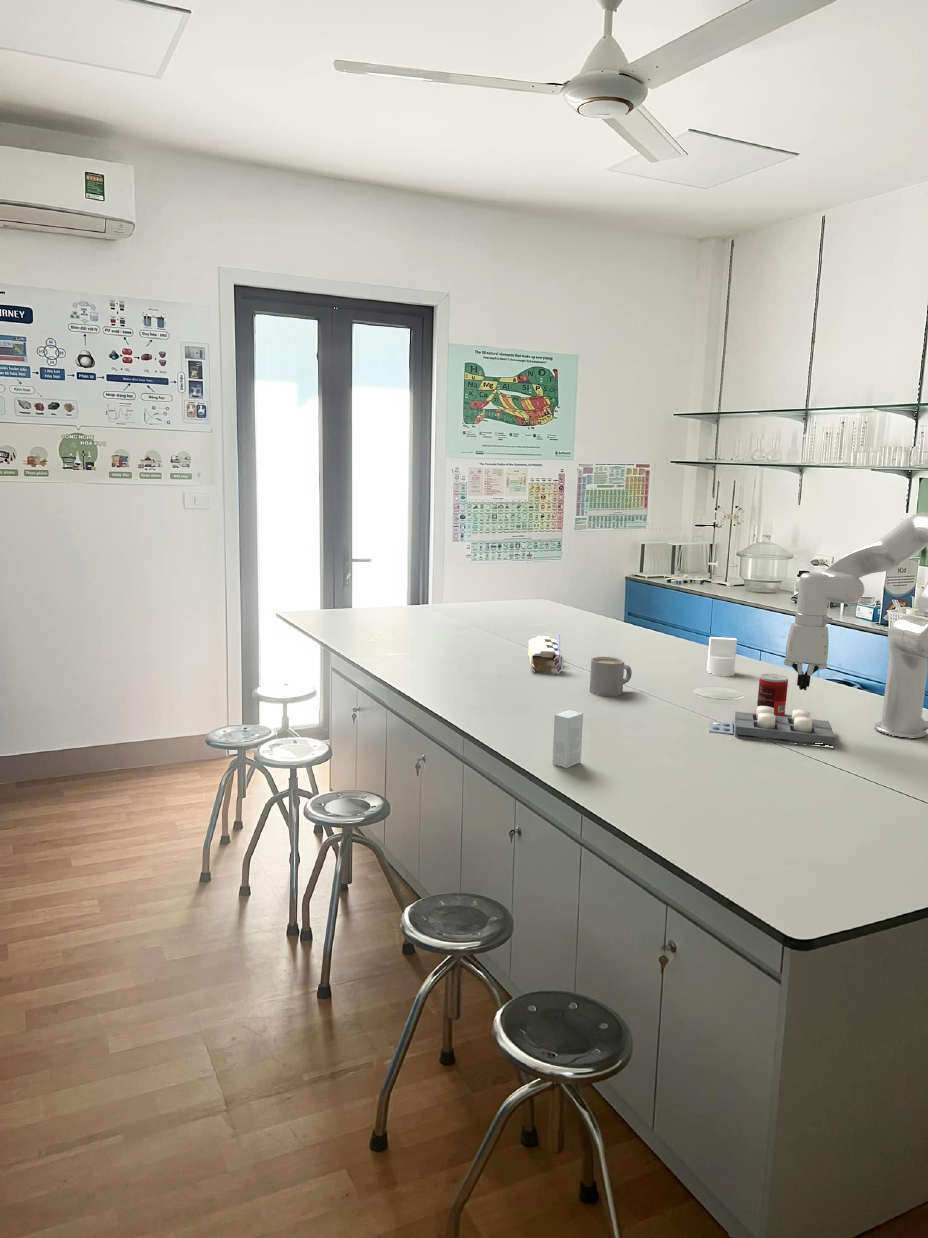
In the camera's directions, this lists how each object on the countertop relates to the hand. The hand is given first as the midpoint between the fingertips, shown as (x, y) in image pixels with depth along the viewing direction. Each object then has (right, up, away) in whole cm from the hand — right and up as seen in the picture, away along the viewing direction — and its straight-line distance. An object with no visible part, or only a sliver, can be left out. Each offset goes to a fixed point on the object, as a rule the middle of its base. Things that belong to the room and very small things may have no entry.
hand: (802, 688), depth 238 cm
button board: (-9, -12, +1) cm, 15 cm away
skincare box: (-66, -15, -29) cm, 73 cm away
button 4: (-2, -10, -5) cm, 12 cm away
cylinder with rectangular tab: (-2, 0, +69) cm, 69 cm away
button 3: (0, -9, +2) cm, 9 cm away
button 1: (-9, -8, +4) cm, 13 cm away
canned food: (-2, -9, +19) cm, 22 cm away
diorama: (-62, +2, +72) cm, 95 cm away
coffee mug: (-44, -4, +38) cm, 59 cm away
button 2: (-11, -10, -3) cm, 15 cm away
